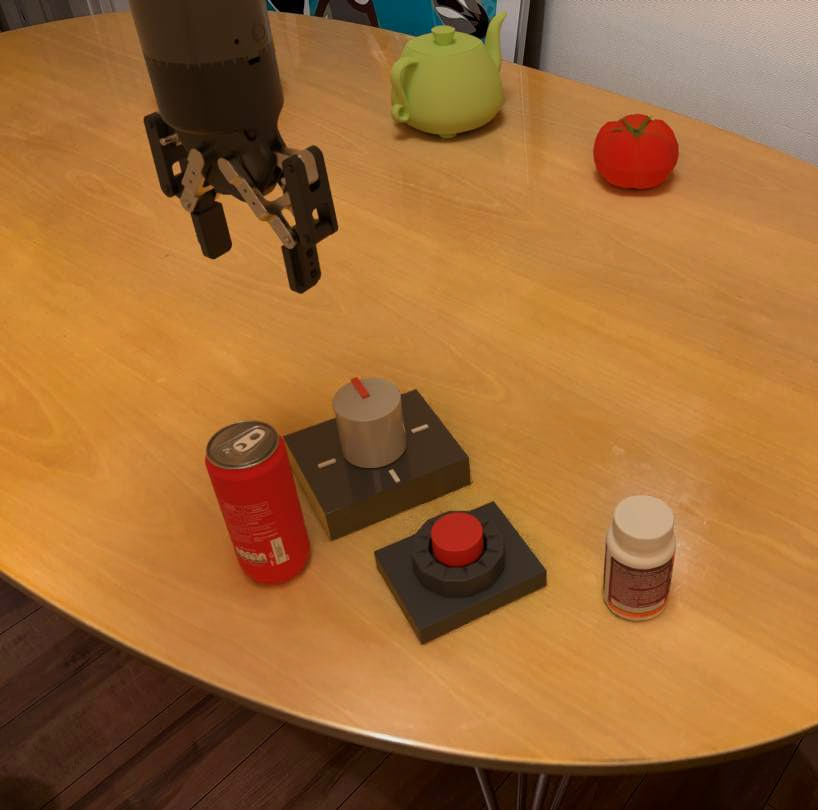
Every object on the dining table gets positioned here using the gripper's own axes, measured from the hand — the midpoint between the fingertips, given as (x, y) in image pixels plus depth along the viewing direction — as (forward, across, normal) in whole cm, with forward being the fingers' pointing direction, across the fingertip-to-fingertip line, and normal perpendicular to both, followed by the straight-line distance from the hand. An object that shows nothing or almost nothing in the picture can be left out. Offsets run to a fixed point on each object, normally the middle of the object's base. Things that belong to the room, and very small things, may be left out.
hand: (261, 270), depth 63 cm
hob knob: (+15, +7, +1) cm, 17 cm away
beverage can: (+18, +6, -10) cm, 22 cm away
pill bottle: (+18, +31, +1) cm, 36 cm away
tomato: (+18, 0, +60) cm, 63 cm away
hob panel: (+18, +7, +2) cm, 19 cm away
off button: (+15, +19, -4) cm, 24 cm away
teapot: (+18, -30, +64) cm, 73 cm away
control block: (+18, +19, -4) cm, 26 cm away
